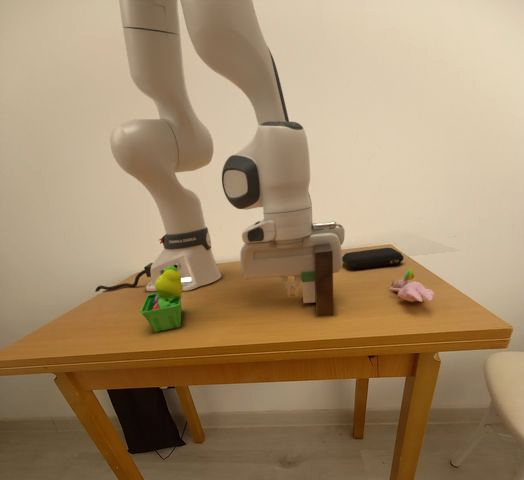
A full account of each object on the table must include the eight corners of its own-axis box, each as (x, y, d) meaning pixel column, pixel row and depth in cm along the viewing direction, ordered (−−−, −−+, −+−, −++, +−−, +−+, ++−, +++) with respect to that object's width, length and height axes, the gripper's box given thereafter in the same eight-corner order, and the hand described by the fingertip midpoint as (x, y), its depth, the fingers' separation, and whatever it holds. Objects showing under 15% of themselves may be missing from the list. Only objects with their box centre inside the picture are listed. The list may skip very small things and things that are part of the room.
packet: (307, 308, 62) (287, 284, 60) (307, 300, 66) (288, 277, 64) (330, 291, 59) (309, 265, 57) (328, 284, 63) (309, 260, 61)
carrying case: (349, 273, 76) (407, 266, 75) (349, 261, 75) (409, 254, 74) (340, 263, 85) (392, 256, 84) (340, 252, 84) (393, 245, 83)
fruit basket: (153, 315, 68) (137, 266, 63) (191, 307, 69) (179, 259, 64) (148, 336, 59) (127, 281, 53) (192, 327, 60) (177, 272, 54)
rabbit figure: (383, 295, 64) (405, 312, 51) (384, 267, 62) (408, 277, 48) (413, 292, 63) (445, 309, 50) (415, 264, 61) (449, 273, 48)
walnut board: (317, 316, 56) (314, 252, 50) (314, 288, 70) (311, 235, 64) (333, 315, 56) (332, 250, 50) (327, 287, 70) (325, 233, 64)
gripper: (343, 217, 57) (341, 286, 64) (240, 228, 60) (249, 293, 67) (346, 223, 51) (344, 297, 58) (233, 234, 55) (244, 303, 62)
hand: (292, 295), depth 63 cm, fingers closed, pressing on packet
